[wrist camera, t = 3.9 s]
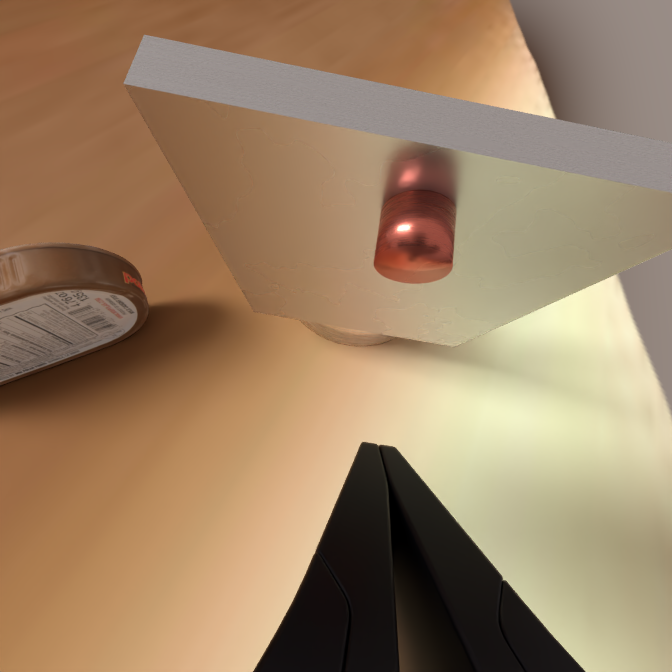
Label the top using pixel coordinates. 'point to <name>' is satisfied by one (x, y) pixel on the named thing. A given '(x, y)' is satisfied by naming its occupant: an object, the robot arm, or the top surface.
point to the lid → (396, 194)
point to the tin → (64, 305)
